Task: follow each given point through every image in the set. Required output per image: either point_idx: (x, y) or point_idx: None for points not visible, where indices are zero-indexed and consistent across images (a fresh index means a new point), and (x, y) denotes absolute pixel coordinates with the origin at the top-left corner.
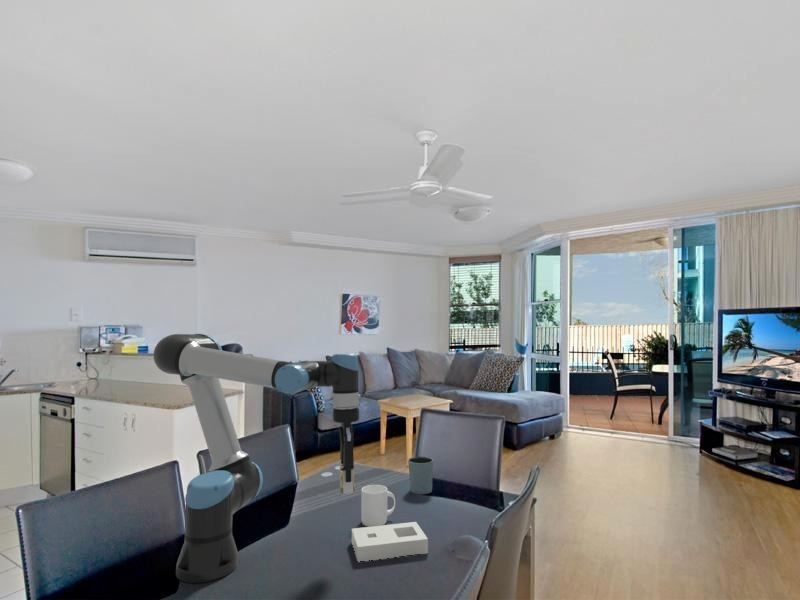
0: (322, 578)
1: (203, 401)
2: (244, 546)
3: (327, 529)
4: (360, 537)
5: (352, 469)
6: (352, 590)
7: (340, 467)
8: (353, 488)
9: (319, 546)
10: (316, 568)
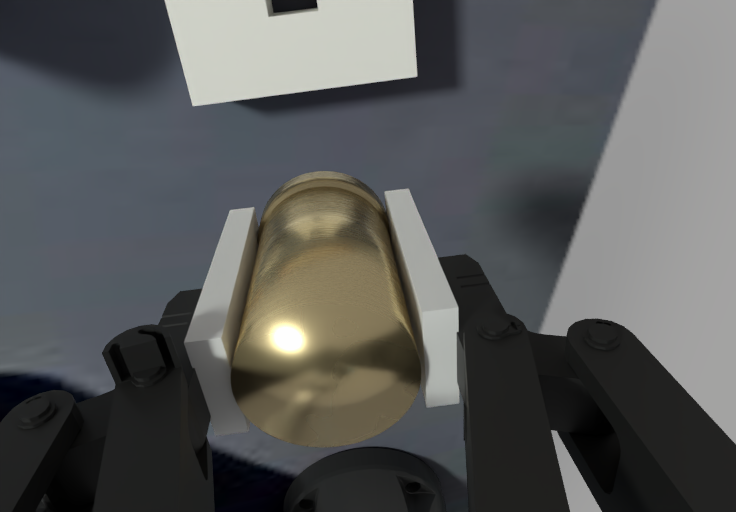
0: (495, 203)
1: None
2: (234, 459)
3: (60, 211)
4: (309, 58)
5: (504, 314)
6: (606, 93)
7: (366, 438)
8: (362, 194)
9: None
10: None
